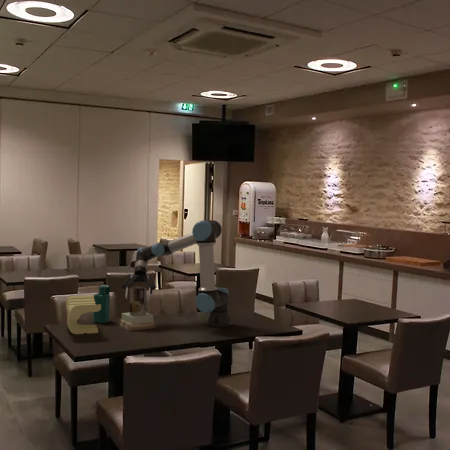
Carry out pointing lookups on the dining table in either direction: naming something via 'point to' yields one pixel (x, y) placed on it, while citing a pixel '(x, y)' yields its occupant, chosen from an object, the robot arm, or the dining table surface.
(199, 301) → the robot arm
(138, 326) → the tower base
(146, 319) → the white flat square block
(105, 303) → the green bottle
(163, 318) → the dining table surface
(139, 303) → the coffee box
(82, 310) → the slatted curved stool
